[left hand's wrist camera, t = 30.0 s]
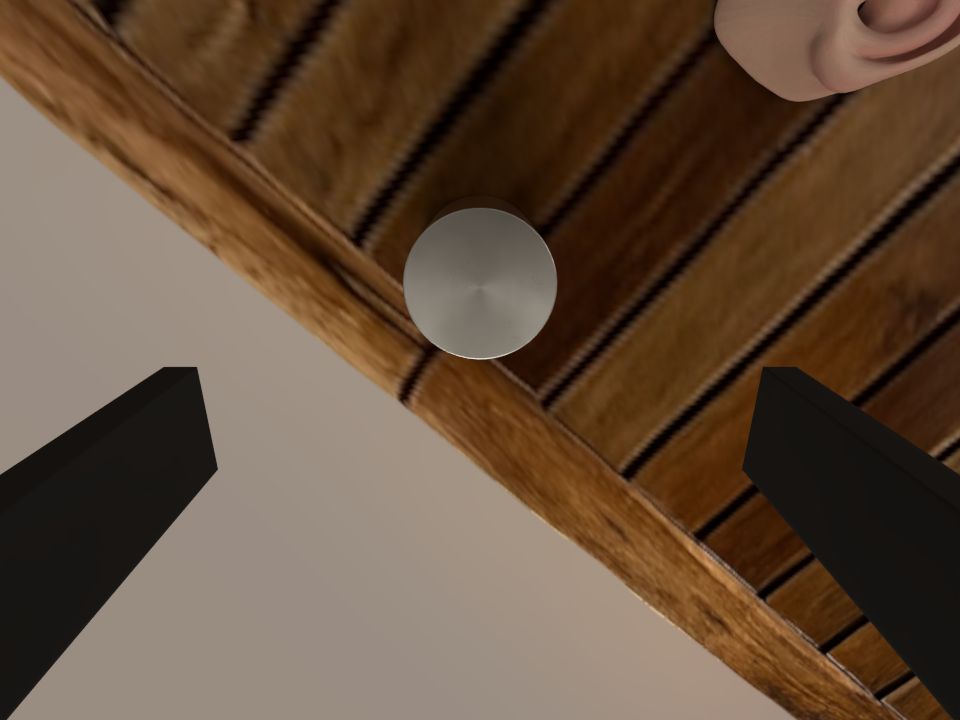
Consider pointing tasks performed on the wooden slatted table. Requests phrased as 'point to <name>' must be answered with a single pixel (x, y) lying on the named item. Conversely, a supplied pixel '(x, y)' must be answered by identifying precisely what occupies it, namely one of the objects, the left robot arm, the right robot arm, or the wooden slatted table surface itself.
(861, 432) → the left robot arm
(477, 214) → the canister
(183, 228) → the wooden slatted table surface
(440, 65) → the wooden slatted table surface
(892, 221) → the wooden slatted table surface
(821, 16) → the anatomical model
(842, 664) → the wooden slatted table surface
